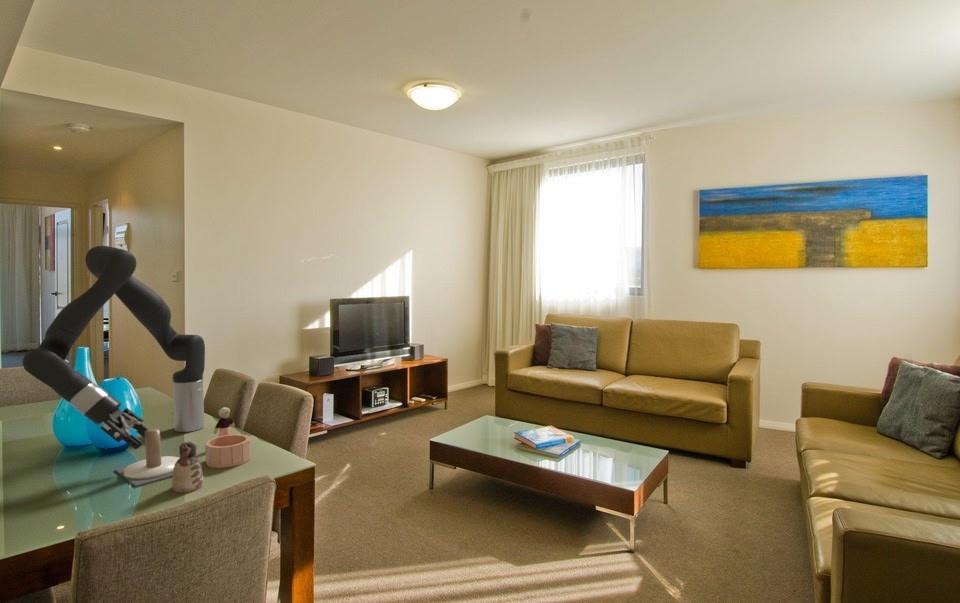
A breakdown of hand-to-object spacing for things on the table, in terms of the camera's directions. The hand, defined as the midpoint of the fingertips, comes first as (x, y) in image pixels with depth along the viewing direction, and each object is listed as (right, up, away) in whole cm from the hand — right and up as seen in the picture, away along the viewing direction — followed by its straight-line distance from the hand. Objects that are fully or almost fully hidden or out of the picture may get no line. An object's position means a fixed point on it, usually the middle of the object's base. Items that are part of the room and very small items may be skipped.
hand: (145, 441), depth 145 cm
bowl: (+19, -8, +9) cm, 22 cm away
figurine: (+17, -10, -9) cm, 22 cm away
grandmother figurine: (+12, -7, +21) cm, 25 cm away
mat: (+2, -9, +1) cm, 9 cm away
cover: (+2, -8, +1) cm, 8 cm away
